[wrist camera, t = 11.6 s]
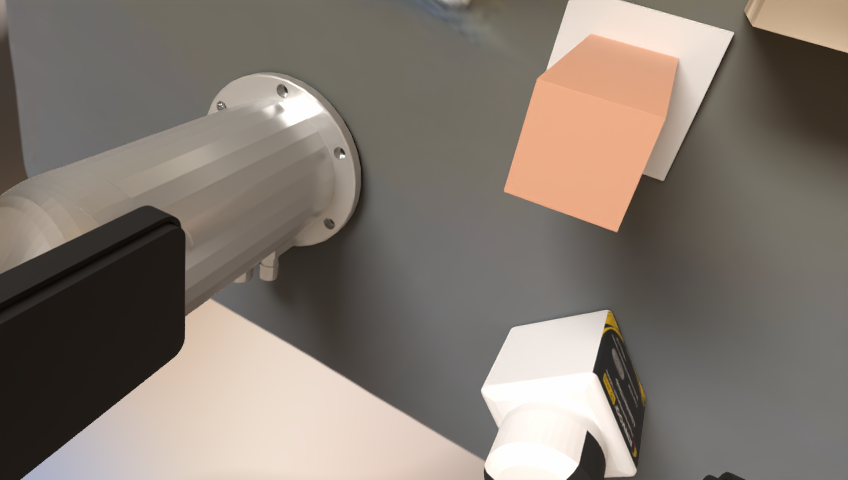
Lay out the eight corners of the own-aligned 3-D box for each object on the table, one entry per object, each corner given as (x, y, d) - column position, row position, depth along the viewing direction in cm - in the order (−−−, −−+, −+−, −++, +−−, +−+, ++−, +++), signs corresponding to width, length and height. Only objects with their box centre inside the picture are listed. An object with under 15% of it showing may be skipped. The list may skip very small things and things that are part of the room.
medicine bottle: (647, 398, 39) (629, 553, 29) (547, 408, 43) (500, 549, 33) (611, 306, 37) (578, 439, 27) (510, 325, 41) (448, 448, 31)
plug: (643, 141, 32) (616, 232, 22) (563, 115, 33) (503, 191, 23) (678, 58, 29) (665, 118, 20) (590, 33, 30) (537, 78, 21)
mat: (663, 178, 32) (663, 181, 32) (527, 131, 34) (526, 133, 34) (733, 32, 28) (733, 33, 28) (574, -13, 30) (572, -13, 30)
